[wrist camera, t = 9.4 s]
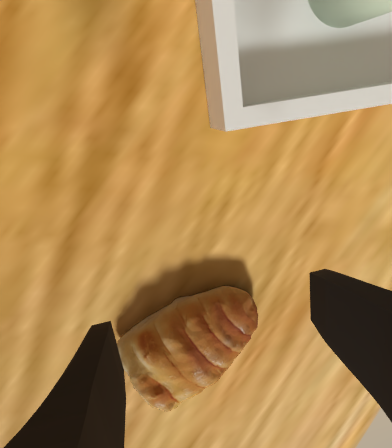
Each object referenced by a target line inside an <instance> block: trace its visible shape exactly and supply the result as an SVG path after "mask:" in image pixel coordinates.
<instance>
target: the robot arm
mask: <svg viewBox="0 0 392 448" xmlns="http://www.w3.org/2000/svg"><path fill="white" fill-rule="evenodd" d="M310 308H311V321H312V322H313V324H314V325H315V327H316V329H317V330H318V332H319V333H320V335H321V336H322V338H323V339H324V341H325V342H326V343H327V344H328V346H329V347H330V348H331V349H332V350H333V352H334V353H335V354H336V355H337V356H338V357H339V359H340V360H341V361H342V362H343V363H344V364H345V365H346V367H347V368H348V369H349V370H350V371H351V372H352V373H353V375H354V376H355V377H356V378H357V379H358V380H359V381H360V383H361V384H362V385H363V386H364V387H365V388H366V389H367V391H368V392H369V393H370V394H371V395H372V397H373V398H374V399H375V400H376V401H377V403H378V404H379V405H380V407H381V408H382V409H383V410H384V412H385V413H386V415H387V416H388V418H389V419H390V420H391V422H392V291H390V290H387V289H384V288H381V287H378V286H375V285H372V284H369V283H366V282H364V281H361V280H358V279H355V278H352V277H349V276H346V275H344V274H341V273H338V272H334V271H331V270H327V269H323V270H319V271H315V272H311V273H310ZM125 410H126V392H125V379H124V369H123V365H122V361H121V358H120V354H119V350H118V347H117V343H116V339H115V336H114V332H113V328H112V325H111V321H109V322H105V323H100V324H96V325H92V326H91V328H90V329H89V331H88V332H87V334H86V336H85V338H84V340H83V341H82V343H81V345H80V347H79V348H78V350H77V352H76V353H75V355H74V357H73V358H72V360H71V362H70V363H69V365H68V366H67V368H66V370H65V371H64V373H63V374H62V376H61V377H60V379H59V380H58V382H57V383H56V385H55V386H54V388H53V389H52V390H51V392H50V393H49V395H48V396H47V398H46V399H45V400H44V402H43V403H42V404H41V406H40V407H39V408H38V409H37V411H36V412H35V413H34V414H33V416H32V417H31V418H30V419H29V420H28V422H27V423H26V424H25V425H24V426H23V427H22V429H21V430H20V431H19V432H18V433H17V434H16V435H15V436H14V437H13V438H12V439H11V440H10V442H9V443H8V444H7V445H6V446H5V447H4V448H124V436H125Z"/></svg>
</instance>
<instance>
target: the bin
mask: <svg viewBox="0 0 392 448" xmlns="http://www.w3.org/2000/svg"><path fill="white" fill-rule="evenodd" d="M195 3H196V11H197V20H198V28H199V36H200V45H201V53H202V61H203V70H204V78H205V86H206V95H207V103H208V111H209V120H210V128H213V129H217V130H222V131H231V130H237V129H243V128H249V127H255V126H261V125H267V124H273V123H279V122H285V121H291V120H297V119H303V118H309V117H315V116H321V115H327V114H333V113H339V112H345V111H351V110H357V109H363V108H369V107H374V106H380V105H386V104H392V12H389V13H386V14H383V15H381V16H378V17H375V18H372V19H369V20H366V21H363V22H360V23H357V24H355V25H352V26H348V27H345V28H334V27H330V26H328V25H326V24H324V23H323V22H321V21H320V20H319V19H318V18H317V17H316V16H315V14H314V13H313V11H312V9H311V7H310V5H309V2H308V0H195Z"/></svg>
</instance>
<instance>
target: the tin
mask: <svg viewBox="0 0 392 448" xmlns="http://www.w3.org/2000/svg"><path fill="white" fill-rule="evenodd" d="M308 2H309V5H310V7H311V9H312V11H313V13H314V14H315V16H316V17H317V18H318V19H319V20H320V21H321V22H323V23H324V24H326V25H328V26H330V27H334V28H345V27H348V26H352V25H355V24H357V23H360V22H363V21H366V20H369V19H372V18H375V17H378V16H381V15H383V14H386V13H389V12H392V0H308Z"/></svg>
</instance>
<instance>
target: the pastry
mask: <svg viewBox="0 0 392 448" xmlns="http://www.w3.org/2000/svg"><path fill="white" fill-rule="evenodd" d="M257 325H258V313H257V307H256V305H255V302H254V300H253V299H252V297H251V296H250V294H249V293H247V292H246V291H244V290H241V289H239V288H235V287H232V286H221V287H217V288H214V289H212V290H209V291H207V292H203V293H198V294H196V295H192V296H184V297H180V298H177V299H175V300H174V301H173V302H172V303H171V304H170V305H168V306H166V307H164V308H162V309H161V310H159V311H157V312H156V313H154V314H152V315H150V316H148V317H146V318H145V319H144V320H142V321H141V322H139V323H138V324H137V325H135V326H134V327H133V328H132V329H131V330H130V331H128V332H127V333H125V334H124V335H123V336H122V337H121V338H120V339H119V340H118V342H117V347H118V350H119V354H120V358H121V361H122V365H123V368H124V370H125V371H126V372H127V373H128V375H129V377H130V380H131V382H132V384H133V386H134V388H135V389H136V391H137V392H138V393H139V394H140V396H141V397H142V398H143V399H144V400H145V401H146V402H147V403H148V404H149V405H150V406H151V407H153V408H158V409H159V410H162V411H171V410H172V409H175V408H177V407H178V405H179V404H180V403H181V402H183V401H185V400H187V399H189V398H191V397H193V396H195V395H197V394H199V393H201V392H202V391H203V390H204V389H205V388H206V387H208V386H211V385H213V384H215V383H216V382H217V381H218V380H219V379H220V377H221V376H222V375H223V373H224V372H225V371H226V370H227V369H228V368H229V367H230V365H231V364H232V362H233V360H234V359H235V358H236V357H237V356H238V355H239V354H240V353H241V351H242V350H243V348H244V346H245V345H246V343H248V341H249V340H250V339H251V335H252V334H253V332H254V331H255V330H256V328H257Z"/></svg>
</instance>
